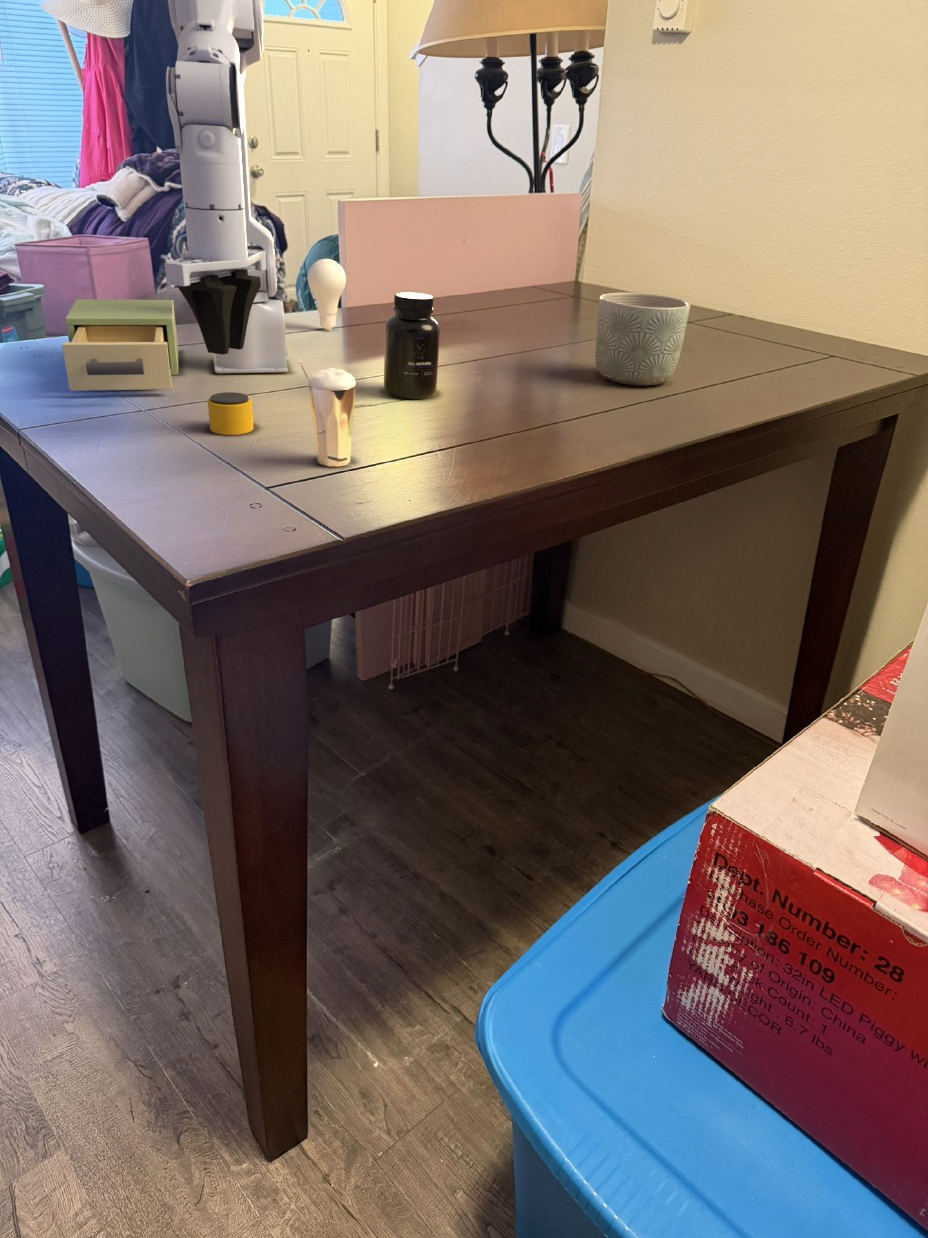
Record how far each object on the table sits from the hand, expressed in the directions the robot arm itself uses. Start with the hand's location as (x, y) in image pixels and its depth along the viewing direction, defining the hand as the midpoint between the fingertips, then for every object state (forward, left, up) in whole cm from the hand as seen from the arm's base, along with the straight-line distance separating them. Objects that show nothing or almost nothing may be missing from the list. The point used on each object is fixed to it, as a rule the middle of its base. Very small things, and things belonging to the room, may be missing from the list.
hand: (225, 350), depth 91 cm
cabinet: (+12, -31, -8) cm, 34 cm away
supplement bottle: (-23, -13, -9) cm, 28 cm away
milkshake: (-9, +12, -9) cm, 17 cm away
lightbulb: (-18, -53, -9) cm, 57 cm away
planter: (-57, -18, -9) cm, 60 cm away
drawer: (+12, -18, -7) cm, 23 cm away
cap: (0, 0, -8) cm, 8 cm away
